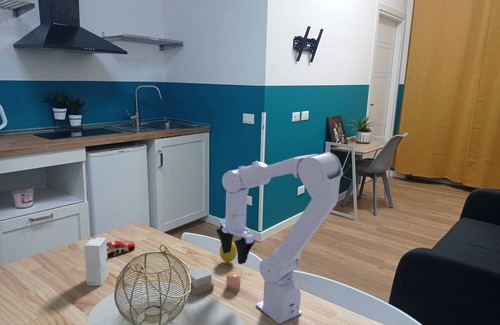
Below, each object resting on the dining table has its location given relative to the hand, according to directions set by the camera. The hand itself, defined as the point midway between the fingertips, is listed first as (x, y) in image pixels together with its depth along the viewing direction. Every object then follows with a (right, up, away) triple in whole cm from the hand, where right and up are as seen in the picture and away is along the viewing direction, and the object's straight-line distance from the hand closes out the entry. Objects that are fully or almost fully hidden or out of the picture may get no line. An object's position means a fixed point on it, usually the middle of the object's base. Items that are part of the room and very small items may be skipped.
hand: (234, 257), depth 104 cm
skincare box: (-40, -7, +3) cm, 41 cm away
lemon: (-3, -6, +17) cm, 18 cm away
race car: (-41, -4, +21) cm, 46 cm away
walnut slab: (-10, -9, +1) cm, 14 cm away
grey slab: (-10, -7, +1) cm, 12 cm away
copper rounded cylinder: (0, -9, +2) cm, 9 cm away
